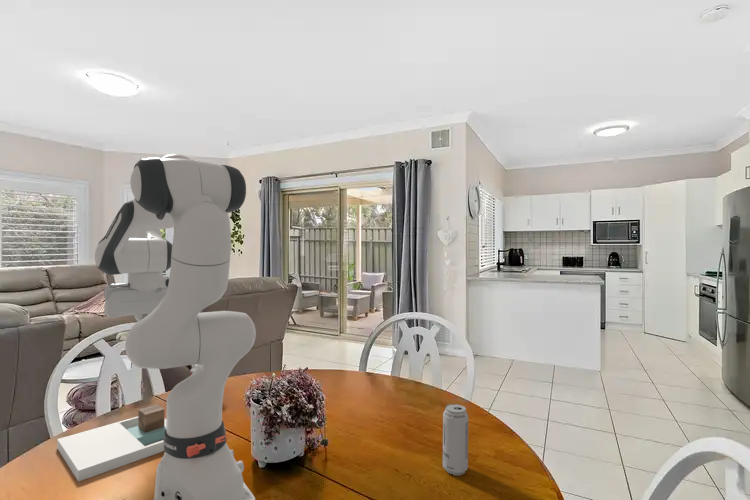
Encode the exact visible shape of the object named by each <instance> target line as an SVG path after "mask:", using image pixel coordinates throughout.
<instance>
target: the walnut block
mask: <svg viewBox="0 0 750 500" xmlns="http://www.w3.org/2000/svg"><path fill="white" fill-rule="evenodd" d="M137 412H138V413H137V415H138V427H139V428H140V429H141V430H142V431H143V432H145V433H146V432H149V431H153V430H156V429H159V428H162V427H164V418H165V408H164V407H162V406H160V405H159V404H154V405H150V406H147V407H146V406H145V407H143V408H139V409H138V411H137Z"/></svg>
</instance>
